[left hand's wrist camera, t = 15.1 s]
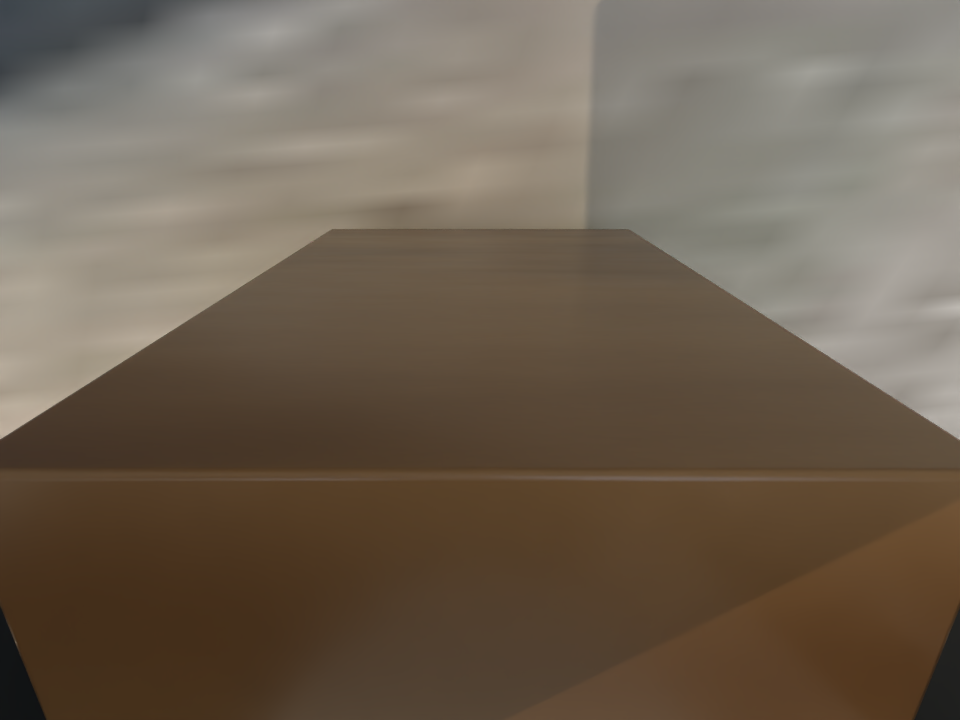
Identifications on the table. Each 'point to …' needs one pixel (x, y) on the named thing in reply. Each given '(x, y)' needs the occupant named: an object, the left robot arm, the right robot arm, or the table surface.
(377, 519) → the box
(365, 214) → the table surface
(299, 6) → the table surface
